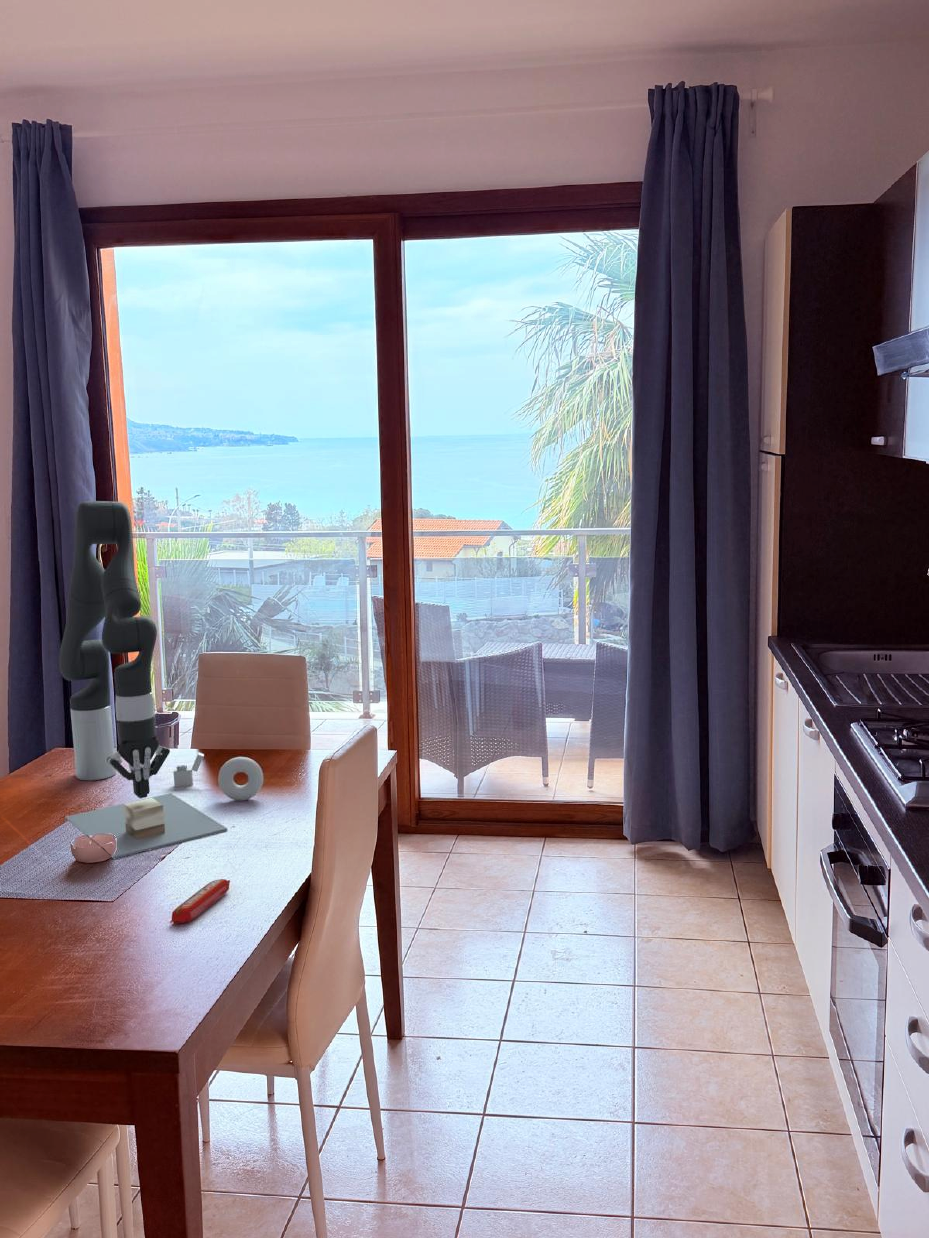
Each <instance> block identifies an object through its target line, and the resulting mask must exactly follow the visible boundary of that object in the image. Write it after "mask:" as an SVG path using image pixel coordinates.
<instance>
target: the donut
mask: <svg viewBox="0 0 929 1238" xmlns="http://www.w3.org/2000/svg"><path fill="white" fill-rule="evenodd" d="M237 773H244V774H246V775H247V778H248V780H247V782H246V783H245V784H243V785H239V784H237V783H236V782H235V780H234V777H235V775H236V774H237ZM217 778H218V779H217V782H218V787H219V788H220V790H221V792H222V794H224V795H225V796H226V797H227V798H229V799H231V800H234V801H241V802H242V801H247V800H250V799H252V798H254V797H255V796H256V795H257V794H258V793H259V792H260V791H261V788H262V786H263V785H264V773H263V770H262V768H261V766H260V765H259V764H258V763H257V762H256V761H255V760H254V759H251V758H249V757H246V756H245V757H244V756H237V757H233V758H232V757H231V759H229V760H228V761H226V762H225V763H224V764H223V765H222V766H221V767H220V770H219V772H218V777H217Z"/></svg>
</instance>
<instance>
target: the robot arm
mask: <svg viewBox="0 0 929 1238" xmlns="http://www.w3.org/2000/svg"><path fill="white" fill-rule="evenodd" d="M74 523H75V526H74V548H73V549H74V550H73V551H74V552H73V563H72V568H71V569H72V570H71V576H70V583H69V589H68V597H67V613H66V621H65V622H66V623H65V627H64V631H63V636H62V640H61V644H60V650H59V659H58V665H59V672H60V674H61V676H62V677H63V679H64V680H66V681H70V682H78V681H83V680H90V679H91V681H90V682H89V684H87V686H85V687H84V688H83V689H80V690H79V691H77V692H75V693H73V694H72V695H71V696H70V698H69V707H70V708H69V709H70V718H71V719H70V720H71V731H72V743H73V751H74V764H75V765H74V767H75V776H76V778H77V779H78V780H81V781H97V780H104V779H107V778H108V779H109V778H110V777H112V776H115V775H116V774H117V772H118V774H120V775H121V776H122V777H123V778H124V779H126V780H128V781H132V785H133V786H132V787H133V789H132V790H133V793H134V795H135V796H136V797H137V798H138V799H146V798H147V797H148V795H149V794H150V792H151V791H150V789H151V788H150V778H151V777H152V776H155V775H156V776H157V774H158V773H159V771H160V769H161V768H162V766H163V765H164V763H165V762H166V759H167V758H168V756H169V754H170V752H171V750H170V749H169V747H166V746H164V745H163V746H162V745H160V742H159V739H158V738H157V726H156V725H157V723H156V708H155V701H154V697H153V691H152V675H151V674H152V673H151V668H152V662H153V661H152V660H153V654H154V649H155V646H156V641H157V636H158V631H157V629H158V628H157V626H156V623H155V622H154V621H153V619H152V618H150V617H149V616H137V615H138V614H139V612H140V611H141V607H142V603H141V597H140V593H139V589H138V588H139V587H138V583H137V579H136V575H135V573H136V571H135V557H134V555H135V554H134V553H135V552H134V539H133V526H132V524H133V523H132V517H131V513H130V510H129V507H128V505H127V504H126V503H124V502H122V501H112V500H111V501H110V500H109V501H105V500H102V501H101V500H89V501H88V500H87V501H83V502H80V503H79V504H78V506H77V510H76V514H75V522H74ZM116 544H117V548H116V552H115V553H114V555H113V557H112V559H111V560H110V562H109V564H107V566H106V568H104V566H103V565H102V564H101V563H100V562H99V560H98V559H97V558H96V556H95V554H94V552H93V550H92V546H93V545H116ZM103 620H104V621H103ZM102 621H103V625H102V626H103V627H102V630H101V631H102V632H101V639H98V638H97V639H89V640H85V639H86V638H87V636H88V635H89V634H90V633H92V631H93V630H94V629H96V627H97V626H98V625H99V624H100V623H101V622H102ZM136 652H137V653H138V654H137V656H136V657H135V658H134V659H133V660H131V661H129V662H125V663H122V664H120V665H118V666H117V667H116V668H114V673H113V675H114V677H113V678H114V687H115V689H114V690H115V705H114V706H115V715H116V716H115V717H116V729H117V730H116V731H117V740H118V742H117V746H116V752H115V741H114V732H113V730H114V729H113V720H112V719H113V718H112V717H113V716H112V709H111V708H112V707H111V684H110V682H111V681H110V659H109V658H110V656H109V653H110V654H113V655H119V654H129V653H130V654H131V653H136ZM154 755H155V756H154ZM153 757H154V758H153ZM122 759H123V760H124V761H125V762H126V763H127V764H128V767H129V770H130V772H129V771H128V770H127V768H125V767H124V766H123V765H122V762H123V761H122ZM152 759H153V760H152ZM151 760H152V761H151Z"/></svg>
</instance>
